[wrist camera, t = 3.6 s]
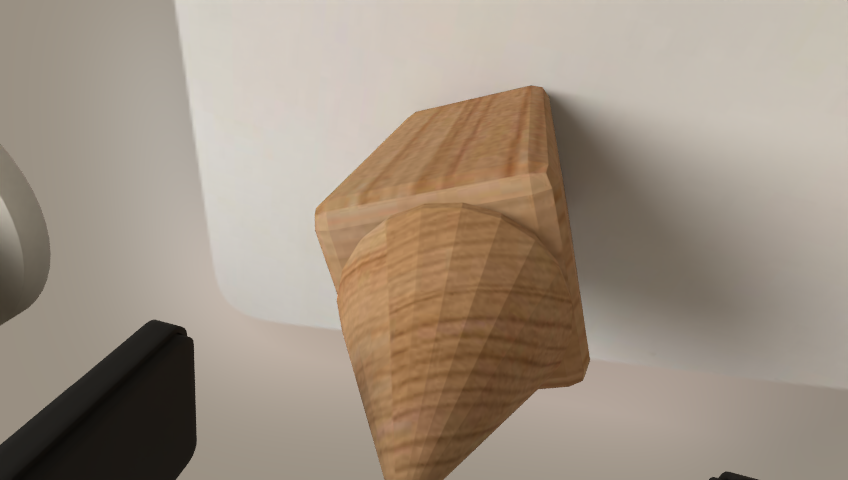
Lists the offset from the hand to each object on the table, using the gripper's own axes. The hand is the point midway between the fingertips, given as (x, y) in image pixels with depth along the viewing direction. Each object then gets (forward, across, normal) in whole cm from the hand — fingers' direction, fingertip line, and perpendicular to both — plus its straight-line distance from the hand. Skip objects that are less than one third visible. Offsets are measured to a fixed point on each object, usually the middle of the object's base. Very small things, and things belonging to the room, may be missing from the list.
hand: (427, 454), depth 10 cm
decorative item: (+19, +1, 0) cm, 19 cm away
